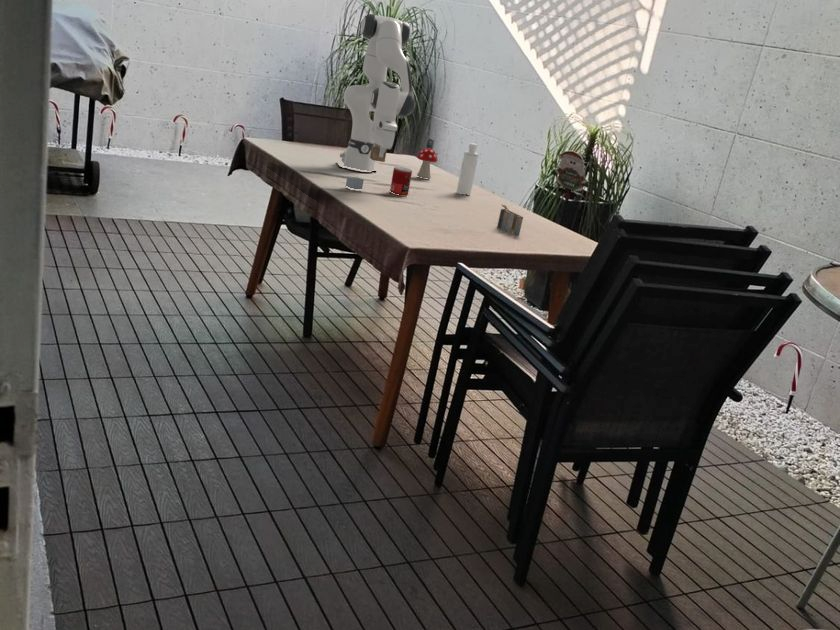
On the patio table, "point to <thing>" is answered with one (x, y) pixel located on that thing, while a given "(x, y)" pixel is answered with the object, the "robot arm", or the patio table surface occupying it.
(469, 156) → the white bottle
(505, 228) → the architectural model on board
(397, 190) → the canned food
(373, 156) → the walnut block
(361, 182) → the grey block
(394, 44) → the robot arm
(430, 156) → the decorative mushroom
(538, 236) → the patio table surface
